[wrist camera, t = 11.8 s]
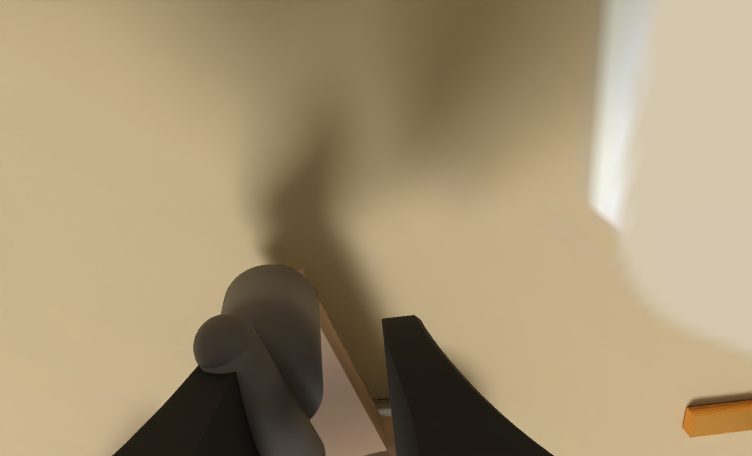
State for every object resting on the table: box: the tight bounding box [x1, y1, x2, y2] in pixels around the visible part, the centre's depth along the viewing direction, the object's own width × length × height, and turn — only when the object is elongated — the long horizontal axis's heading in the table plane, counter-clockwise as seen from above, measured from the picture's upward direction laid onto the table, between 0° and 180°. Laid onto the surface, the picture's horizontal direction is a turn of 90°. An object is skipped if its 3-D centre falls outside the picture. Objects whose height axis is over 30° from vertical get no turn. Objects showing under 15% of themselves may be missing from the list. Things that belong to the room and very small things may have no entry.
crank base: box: [373, 399, 752, 437], centre depth 18 cm, size 14×4×1 cm, turn 93°
